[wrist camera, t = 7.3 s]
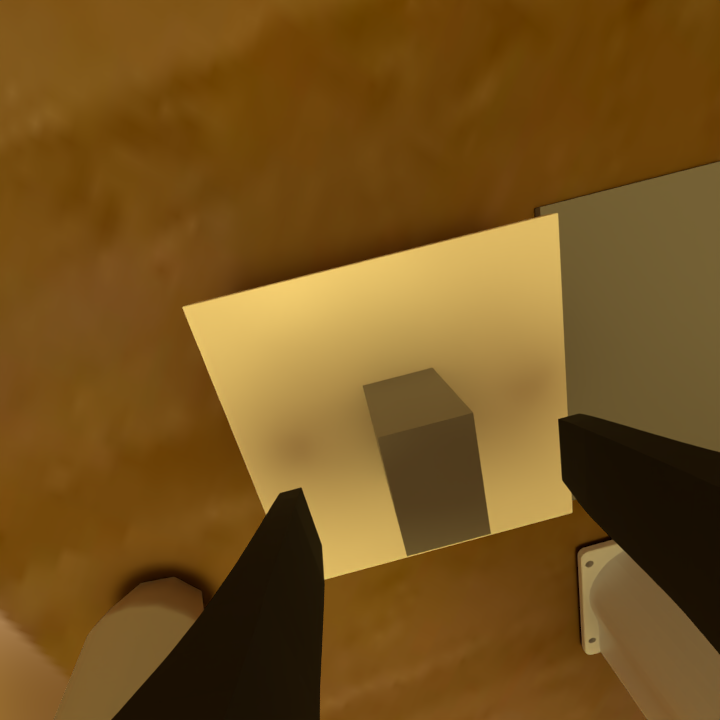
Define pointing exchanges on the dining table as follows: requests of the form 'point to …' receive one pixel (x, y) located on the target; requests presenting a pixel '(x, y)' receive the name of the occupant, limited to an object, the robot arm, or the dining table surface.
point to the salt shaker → (129, 647)
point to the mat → (645, 304)
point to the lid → (402, 391)
